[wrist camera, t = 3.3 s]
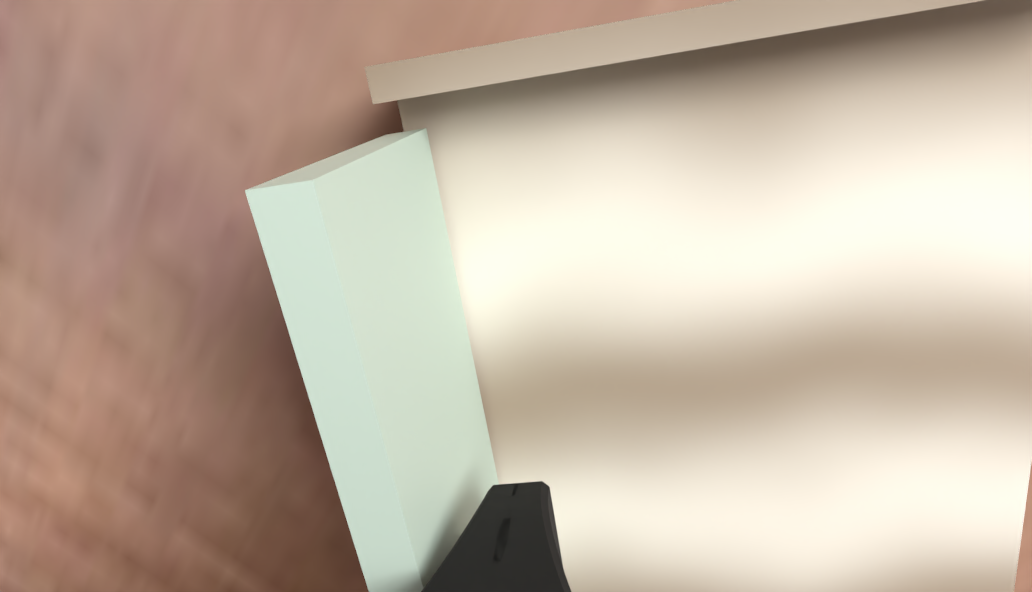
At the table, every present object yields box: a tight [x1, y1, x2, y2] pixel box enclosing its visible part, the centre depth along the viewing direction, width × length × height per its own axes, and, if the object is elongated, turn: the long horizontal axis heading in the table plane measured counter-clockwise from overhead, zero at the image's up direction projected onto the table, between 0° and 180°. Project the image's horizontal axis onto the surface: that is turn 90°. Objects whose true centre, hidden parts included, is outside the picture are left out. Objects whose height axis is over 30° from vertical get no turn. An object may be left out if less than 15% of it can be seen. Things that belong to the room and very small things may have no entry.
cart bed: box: [365, 0, 1032, 592], centre depth 14 cm, size 16×12×4 cm
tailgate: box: [245, 128, 499, 592], centre depth 12 cm, size 14×1×6 cm, turn 9°
